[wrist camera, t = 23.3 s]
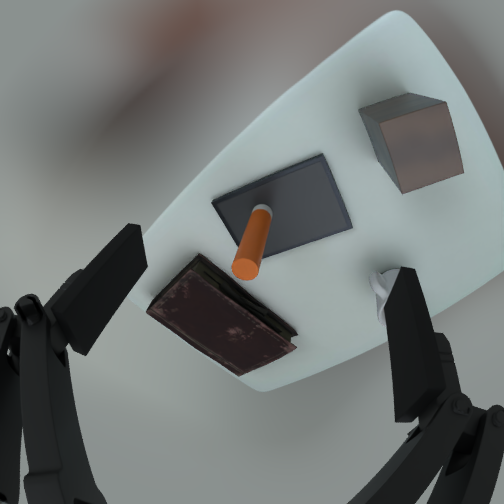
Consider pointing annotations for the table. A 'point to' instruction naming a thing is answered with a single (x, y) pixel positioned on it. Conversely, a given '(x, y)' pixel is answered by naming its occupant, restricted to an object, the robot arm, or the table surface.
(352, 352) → the table surface
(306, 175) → the tablet
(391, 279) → the cup
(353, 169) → the table surface
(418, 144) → the tall brown-topped block
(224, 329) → the diary
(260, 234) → the orange cylinder
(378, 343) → the table surface
